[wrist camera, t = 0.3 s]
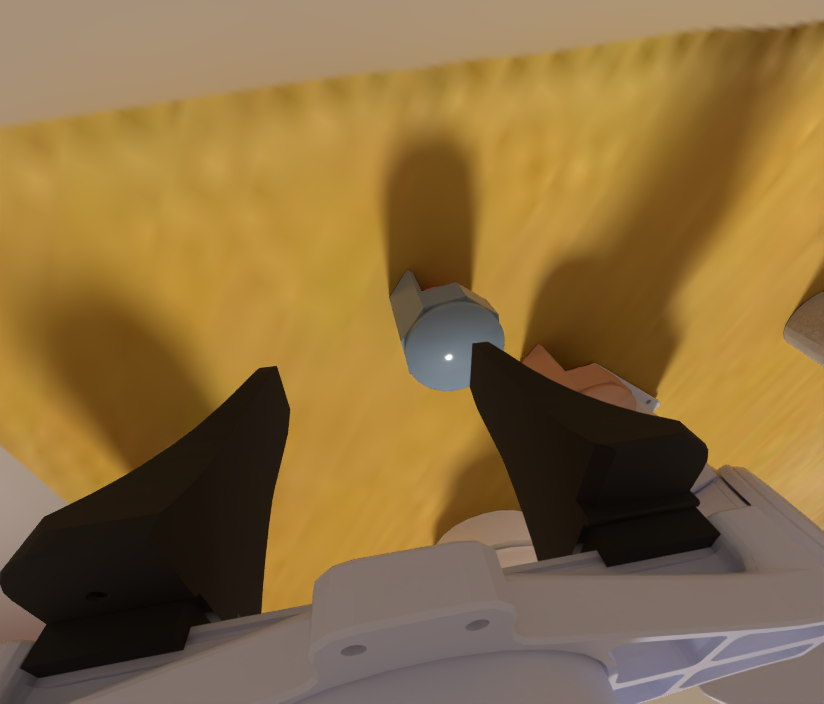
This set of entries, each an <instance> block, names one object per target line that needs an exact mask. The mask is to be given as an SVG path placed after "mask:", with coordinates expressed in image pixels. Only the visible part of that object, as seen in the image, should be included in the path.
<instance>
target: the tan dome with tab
mask: <svg viewBox="0 0 824 704" xmlns="http://www.w3.org/2000/svg"><path fill="white" fill-rule="evenodd" d="M521 363H523V364H524V365H526V366H528V367H529V368H531V369H533V370H534V371H536V372H538V373H540V374H542V375H543V376H545V377H547V378H549V379H551V380H553V381H555V382H557V383H559V384H561V385H563V386H566V387H568V388H570V389H572V390H574V391H577V392H579V393H582V394H584V395H587V396H590V397H592V398H595V399H598V400H601V401H603V402H606V403H610V404H613V405H616V406H619V407H623V408H626V409H630V410H633V411H636V408H637V403H636V399H635V397H634V396H633V395H632V391H631V390H630V389H629V388H628V387H627V386H626V385H625V384H623V383H622V382H621V381H620V380H619V379H618V378H617V377H616V376H615V375H613V374H612V373H610V372H608V371H606V370H605V369H603V368H601V367H600V366H598V365H596V364H595V363H594V364H590V365H587V366H583V367H579V366H578V367H577V368H576V369H573V370H569V371H565V370H564V369H563V368H562V367H561V366H560V365H559V364H558V363H557V362H556V360H555V359H554V358H553V357H552V356H551V355H550V354H549V353H548V352H547V351H546V349H545V348H544V347H543V346H542V345H540V344H537V345H536V346H535V348H534V349H533V350H532V351H531V352H530V353H529V354H528V356H527V357H526V358H525V359H524V360H523V361H522V362H521Z"/></svg>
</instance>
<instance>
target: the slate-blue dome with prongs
mask: <svg viewBox="0 0 824 704" xmlns="http://www.w3.org/2000/svg"><path fill="white" fill-rule="evenodd" d="M390 302H391V306H392V309H393V313H394V317H395V321H396V325H397V329H398V333H399V336H400V340H401V343H402V347H403V350H404V354H405V357H406V361H407V365H408V368H409V372H410V374H412V375H413V376H414V378H415V379H416V380H417V381H419V382H420V383H421V384H423V385H424V386H427V387H429V388H431V389H435V390H440V391H454V390H460V389H464V388H467V387H469V386H470V373H471V357H472V343H479V342H490V343H491V344H493V345H495V346H496V347H498V348H499V349H501V350H502V351H503V349H504V332H503V329H502V327H501V325H500V323H499V316H498V313H497V312H496V311H495V310H494V308H493V307H492V306H491V305H490V304H489V302H488V301H487V300H486V299H484V298H482V297H481V296H479V295H477V294H475V293H474V292H472V291H470V290H469V289H467V288H465V287H464V286H462V285H460V284H458V283H457V282H455V283H451V284H447V285H444V286H440V287H436V288H433V289H429V290H425V291H421V289H420V287H419V285H418V283H417V280H416V278H415V276H414V274H413V272H411V271H409V270H408V269H407V270H406V272H405V273H404V275H403V277H402V278H401V280H400V282H399V283H398V285H397V286H396V288H395V290H394V291H393V293H392V294H391V296H390Z"/></svg>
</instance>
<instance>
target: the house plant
mask: <svg viewBox="0 0 824 704" xmlns="http://www.w3.org/2000/svg"><path fill="white" fill-rule="evenodd" d="M784 339H785V340H786V342H788V343H789V344H791V345H792V346H794V347H795V348H796V349H798V350H799V351H801V352H802V353H804V354H805V355H807V356H808V357H810V358H811V359H812V360H814V361H815V362H817V363H818V364H820V365H821V366H823V367H824V291H823V292H820V293H819V294H817V295H815V296H813V297H812V298H810V299H809V300H808V301H806V302H805V303H804V304H803V305H802V306H800V307H799V308H798V309H797V310H796V311H795V313H794V314H793V315H792V316H791V318H790V319H789V321H788V323H787V324H786V326H785V330H784Z"/></svg>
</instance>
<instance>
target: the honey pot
mask: <svg viewBox="0 0 824 704" xmlns="http://www.w3.org/2000/svg"><path fill="white" fill-rule="evenodd" d="M454 541H478V542H481V543H483V544H485V545H488V546H490V547H492V548H494V549H495V551H496V554H497V557H498V560H499V563H500V565H501V568H505V567H511V566H516V565H521V564H527V563H532V562H537V561H538V560H537V557H536V554H535V550H534V547H533V544H532V540H531V537H530V534H529V531H528V528H527V525H526V522H525V519H524V516H523V513H522V511H515V510H502V511H494V512H489V513H484V514H481V515H478V516H475V517H472V518H469V519H467V520H465V521H463V522H461V523H459V524H458V525H456V526H454V527H453V528H451V529H450V530H449V531H448V532H446V533H445V534H444V535H443V536H442V537H441V539H440V540H439V541H438V542H437V544H442V543H448V542H454ZM437 544H436V545H437Z"/></svg>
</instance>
